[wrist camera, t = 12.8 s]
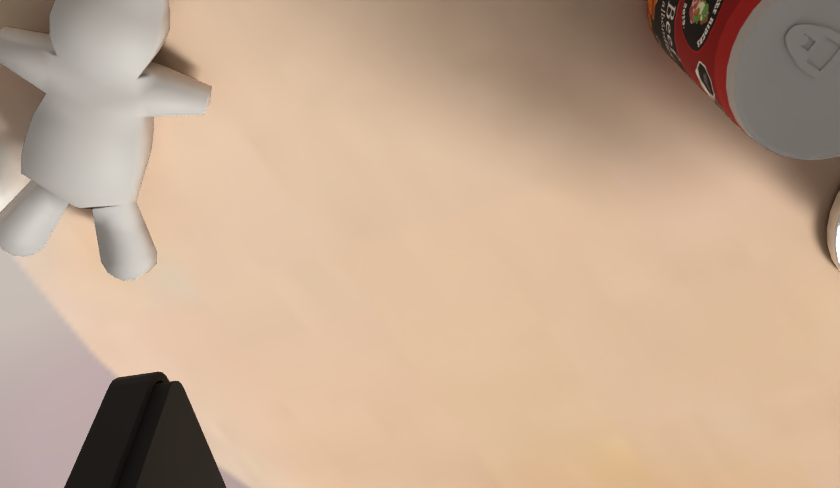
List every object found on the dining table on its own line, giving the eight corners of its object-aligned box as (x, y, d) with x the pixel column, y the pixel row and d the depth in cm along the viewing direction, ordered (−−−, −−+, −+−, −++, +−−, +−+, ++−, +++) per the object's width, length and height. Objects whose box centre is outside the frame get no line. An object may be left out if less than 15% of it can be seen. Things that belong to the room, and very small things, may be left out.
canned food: (680, -119, 35) (797, -68, 26) (834, -73, 36) (996, -10, 27) (615, 44, 39) (695, 139, 29) (756, 79, 40) (874, 180, 31)
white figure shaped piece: (224, 15, 33) (156, 309, 39) (236, -4, 37) (174, 261, 43) (-16, -60, 30) (-49, 264, 36) (28, -71, 35) (-8, 219, 41)
